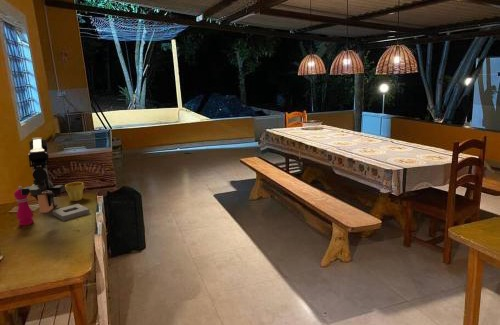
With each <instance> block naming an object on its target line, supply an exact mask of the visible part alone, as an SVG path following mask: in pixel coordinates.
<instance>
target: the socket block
mask: <svg viewBox="0 0 500 325" xmlns="http://www.w3.org/2000/svg"><path fill="white" fill-rule="evenodd" d="M51 210H52V211H51V212H52V215H53V216H55V217H56V218H57V219H59V220H61V221H63V222H64V221H67V220H71V219H74V218H78V217H82V216H85V215H88V214H90V208H88V207H86V206H84V205H81V204H80V203H75V204H71V205H69V206H63V207H61V208H58V209H57V208H56V209H51Z"/></svg>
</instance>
